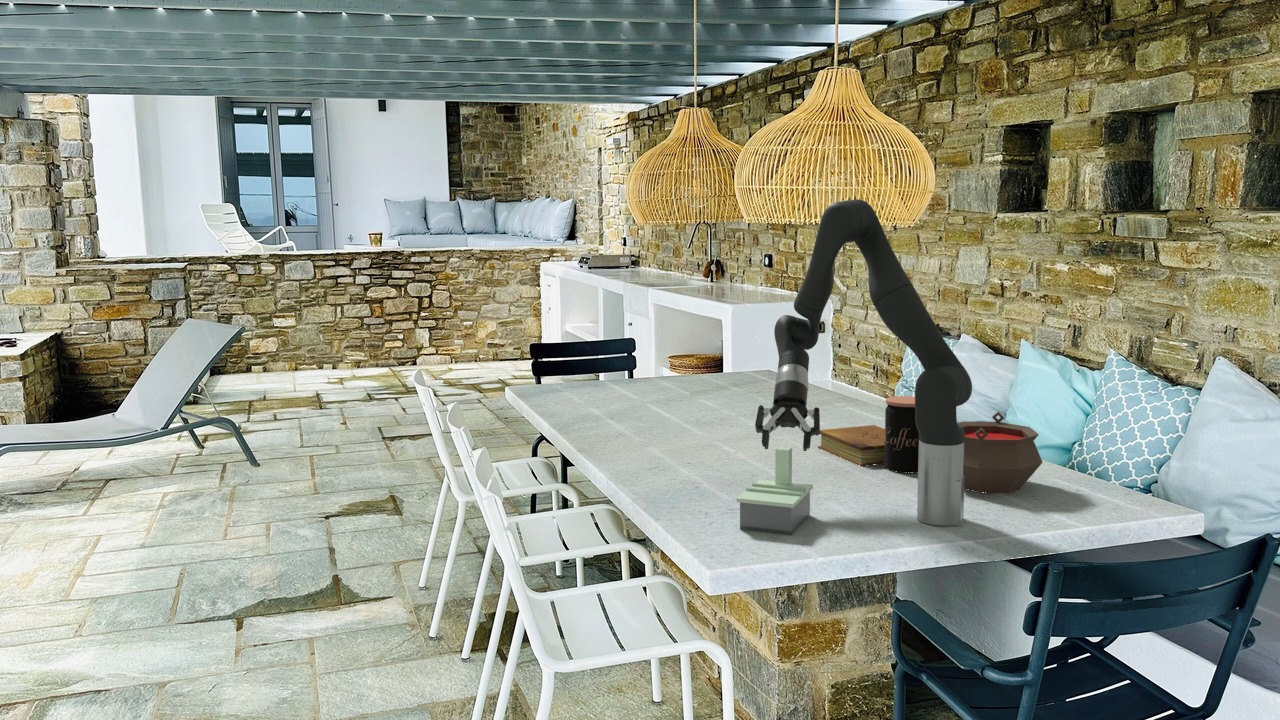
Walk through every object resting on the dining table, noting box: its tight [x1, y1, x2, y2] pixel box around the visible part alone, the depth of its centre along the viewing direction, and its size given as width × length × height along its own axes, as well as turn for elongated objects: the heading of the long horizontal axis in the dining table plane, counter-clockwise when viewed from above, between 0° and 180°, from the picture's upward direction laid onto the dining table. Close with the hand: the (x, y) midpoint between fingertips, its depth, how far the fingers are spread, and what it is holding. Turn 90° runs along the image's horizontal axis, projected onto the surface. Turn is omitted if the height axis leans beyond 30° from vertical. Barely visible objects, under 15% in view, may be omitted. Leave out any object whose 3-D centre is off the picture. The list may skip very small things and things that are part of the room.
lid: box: [736, 446, 814, 508], centre depth 214 cm, size 12×16×9 cm
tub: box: [739, 491, 811, 536], centre depth 215 cm, size 11×15×6 cm
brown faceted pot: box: [957, 410, 1043, 494], centre depth 241 cm, size 24×24×16 cm
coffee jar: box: [883, 395, 919, 474], centre depth 258 cm, size 11×11×18 cm
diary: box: [817, 424, 885, 467], centre depth 275 cm, size 23×19×6 cm
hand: (785, 448), depth 223 cm, fingers open, 8 cm apart
